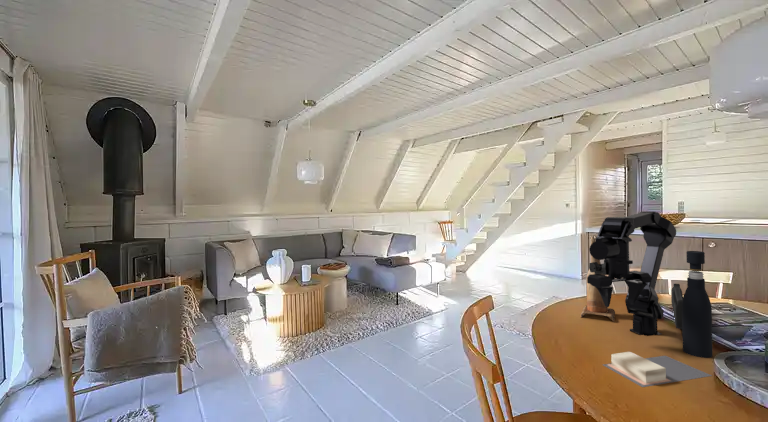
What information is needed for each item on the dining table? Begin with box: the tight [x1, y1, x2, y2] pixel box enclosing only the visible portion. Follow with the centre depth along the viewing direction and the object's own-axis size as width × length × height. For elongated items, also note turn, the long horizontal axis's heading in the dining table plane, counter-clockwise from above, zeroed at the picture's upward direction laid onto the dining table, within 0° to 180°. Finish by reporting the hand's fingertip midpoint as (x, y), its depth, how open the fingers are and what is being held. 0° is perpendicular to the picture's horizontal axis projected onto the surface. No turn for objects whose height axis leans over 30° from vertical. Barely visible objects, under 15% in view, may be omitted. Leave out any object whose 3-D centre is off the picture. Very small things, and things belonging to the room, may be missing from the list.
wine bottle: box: [681, 250, 713, 359], centre depth 99 cm, size 6×6×30 cm
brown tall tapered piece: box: [580, 235, 616, 323], centre depth 135 cm, size 11×12×32 cm
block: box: [610, 351, 666, 383], centre depth 90 cm, size 10×6×3 cm, turn 11°
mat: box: [602, 355, 713, 388], centre depth 91 cm, size 21×12×1 cm, turn 101°
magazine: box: [670, 283, 684, 330], centre depth 127 cm, size 17×3×30 cm
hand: (619, 305), depth 110 cm, fingers open, 9 cm apart
